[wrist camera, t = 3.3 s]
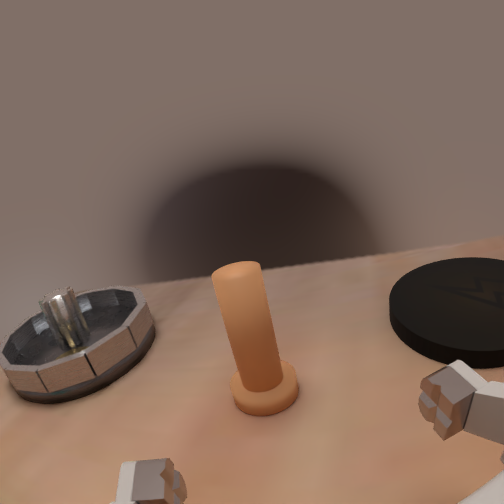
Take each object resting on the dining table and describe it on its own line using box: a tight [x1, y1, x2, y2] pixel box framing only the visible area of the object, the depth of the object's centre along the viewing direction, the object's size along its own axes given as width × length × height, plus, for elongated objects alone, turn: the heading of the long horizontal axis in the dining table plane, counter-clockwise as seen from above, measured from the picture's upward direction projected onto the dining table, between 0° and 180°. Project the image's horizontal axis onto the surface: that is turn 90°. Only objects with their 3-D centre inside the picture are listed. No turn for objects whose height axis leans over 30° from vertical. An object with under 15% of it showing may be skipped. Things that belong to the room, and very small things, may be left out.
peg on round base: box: [212, 261, 298, 416], centre depth 21 cm, size 5×5×10 cm
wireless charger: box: [389, 257, 504, 369], centre depth 25 cm, size 18×18×2 cm
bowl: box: [0, 286, 155, 404], centre depth 32 cm, size 20×20×8 cm
